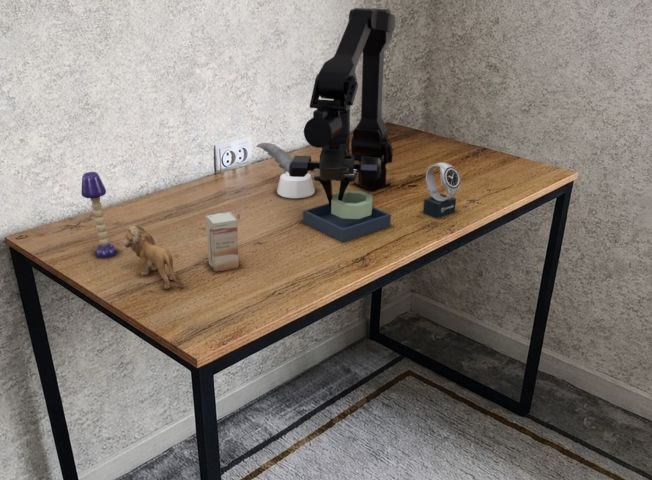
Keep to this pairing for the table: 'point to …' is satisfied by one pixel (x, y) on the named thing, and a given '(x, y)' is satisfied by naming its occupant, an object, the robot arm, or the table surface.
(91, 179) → the toy lamp
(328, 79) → the robot arm
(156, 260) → the lion figurine
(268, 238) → the table surface
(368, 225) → the tray
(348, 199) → the ring
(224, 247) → the small carton box
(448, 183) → the watch
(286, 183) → the inkwell
